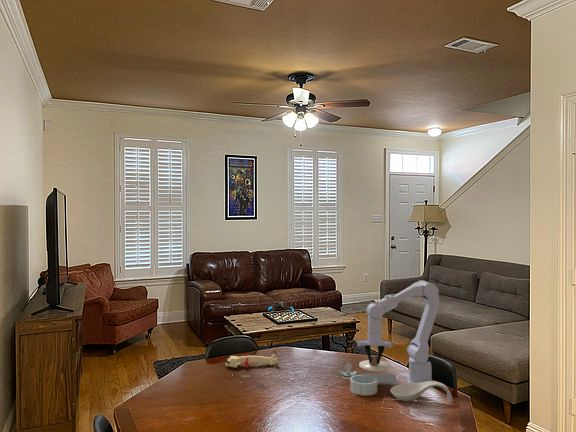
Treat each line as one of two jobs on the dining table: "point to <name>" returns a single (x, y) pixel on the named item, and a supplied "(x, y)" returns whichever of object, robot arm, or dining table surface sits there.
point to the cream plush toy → (252, 360)
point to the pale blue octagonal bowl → (363, 385)
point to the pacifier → (348, 371)
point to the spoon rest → (416, 390)
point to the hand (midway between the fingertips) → (374, 363)
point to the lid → (374, 365)
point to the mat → (384, 378)
